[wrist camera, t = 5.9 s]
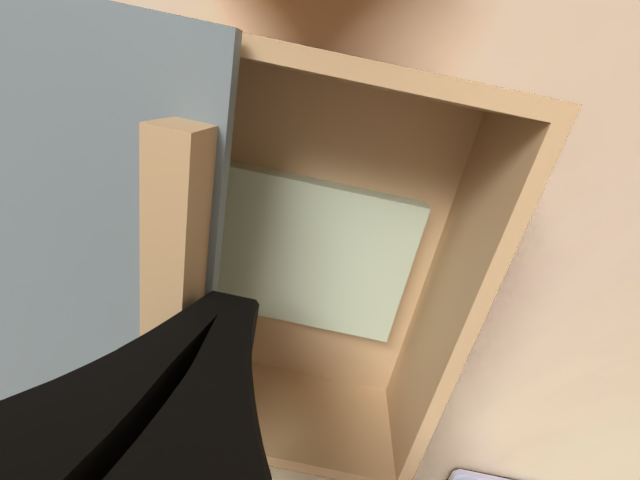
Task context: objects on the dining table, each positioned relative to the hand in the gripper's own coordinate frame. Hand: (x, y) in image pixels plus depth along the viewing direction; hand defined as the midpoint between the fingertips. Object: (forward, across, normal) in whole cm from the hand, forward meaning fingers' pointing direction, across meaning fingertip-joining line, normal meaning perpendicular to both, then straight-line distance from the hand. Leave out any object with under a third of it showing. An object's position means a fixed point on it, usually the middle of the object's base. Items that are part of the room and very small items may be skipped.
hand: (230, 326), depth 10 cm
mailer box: (+6, +2, 0) cm, 6 cm away
